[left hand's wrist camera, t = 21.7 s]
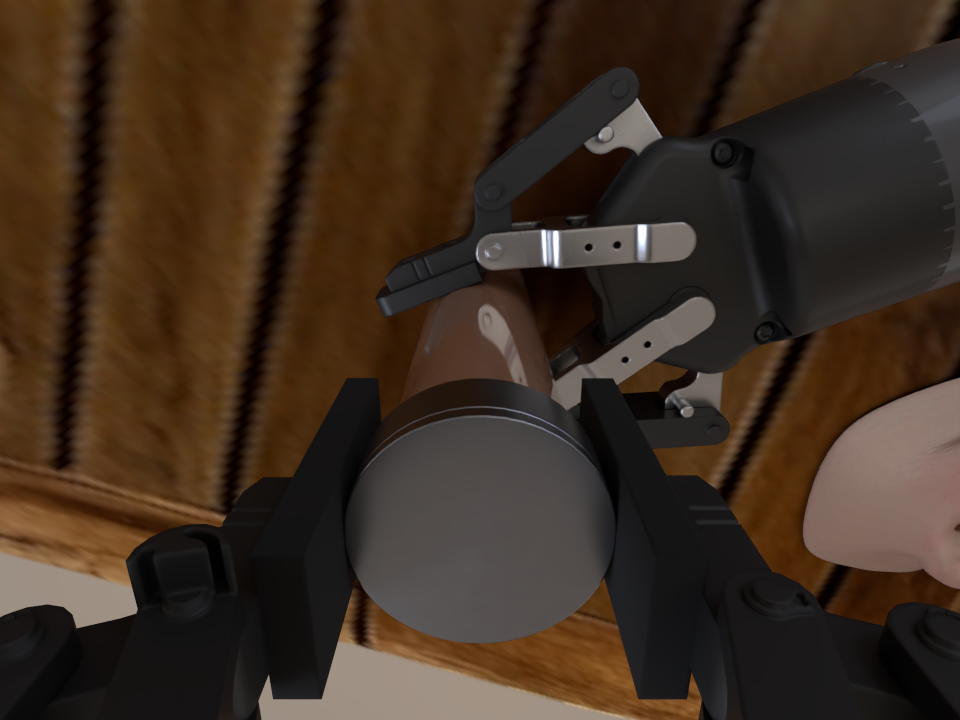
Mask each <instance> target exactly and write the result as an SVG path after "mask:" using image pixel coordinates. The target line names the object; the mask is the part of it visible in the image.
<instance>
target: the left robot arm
mask: <svg viewBox="0 0 960 720" xmlns="http://www.w3.org/2000/svg"><path fill="white" fill-rule="evenodd" d="M380 424H381V414H380V398H379V383H378V378H347V379H346V381H345V383H344V385H343V387H342V388H341V390H340V392H339V394H338V396H337V397H336V399H335V401H334V403H333V405H332V407H331V408H330V410H329V412H328V414H327V416H326V418H325V419H324V421H323V423H322V425H321V427H320V429H319V430H318V432H317V434H316V436H315V438H314V439H313V441H312V443H311V445H310V447H309V449H308V450H307V452H306V454H305V456H304V458H303V460H302V461H301V463H300V465H299V467H298V469H297V470H296V472H295V474H294V476H293V477H263V478H262V479H260V480H259V481H258V482H256V483H255V484H254V485H252V486H251V487H249V488H248V489H247V490H245V491H244V492H243V493H242V495H241V496H240V498H239V499H238V501H237V502H236V504H235V505H234V507H233V508H232V512H230V513H229V514H228V516H227V517H226V519H225V520H224V522H223V525H222V527H216V526H212V525H208V524H191V525H184V526H180V527H176V528H172V529H168V530H166V531H164V532H161V533H159V534H157V535H155V536H153V537H150V538H149V539H147V540H146V541H145V542H143V543H142V544H141V545H139V546H138V547H136V548H135V549H134V550H133V552H132V553H131V554H130V556H129V557H128V558H127V560H126V565H127V569H128V573H129V577H130V580H131V584H132V588H133V592H134V596H135V600H136V604H137V607H138V610H137V613H136V614H134V615H130V616H127V617H124V618H120V619H116V620H112V621H107V622H103V623H99V624H94V625H90V626H85V627H81V628H76V625H75V622H74V619H73V615H72V614H71V613H70V612H68V611H67V610H66V609H65V608H64V607H60V606H53V605H41V606H34V607H27V608H24V609H21V610H18V611H15V612H12V613H9V614H6V615H4V616H2V617H0V720H261V714H260V708H259V702H258V700H259V698H260V695H261V693H262V690H263V688H264V685H265V682H266V680H267V677H268V675H269V677H270V683H271V689H272V695H273V699H322V696H323V692H324V689H325V685H326V682H327V678H328V675H329V671H330V668H331V664H332V660H333V657H334V653H335V650H336V646H337V643H338V639H339V636H340V632H341V628H342V625H343V621H344V618H345V614H346V611H347V607H348V603H349V600H350V596H351V593H352V589H353V586H354V582H355V579H356V576H355V574H354V572H353V569H352V567H351V565H350V563H349V559H348V556H347V552H346V549H345V541H344V514H345V509H346V504H347V501H348V498H349V495H350V492H351V490H352V487H353V484H354V481H355V478H356V476H357V473H358V470H359V467H360V465H361V462H362V459H363V456H364V454H365V451H366V448H367V445H368V443H369V441H370V440H371V438H372V436H373V434H374V432H375V431H376V429H377V428H378V427H379V425H380ZM579 424H580V425H581V426H582V427H583V429H584V431H585V432H586V434H587V435H588V437H589V439H590V441H591V443H592V445H593V448H594V450H595V452H596V455H597V458H598V460H599V463H600V466H601V469H602V471H603V474H604V477H605V480H606V482H607V485H608V488H609V491H610V493H611V496H612V499H613V503H614V507H615V511H616V520H617V533H616V544H615V550H614V554H613V558H612V560H611V563H610V566H609V568H608V571H607V573H606V574H605V576H604V578H605V582H606V585H607V589H608V592H609V596H610V599H611V603H612V607H613V610H614V614H615V617H616V621H617V624H618V628H619V631H620V635H621V639H622V642H623V646H624V649H625V653H626V656H627V660H628V663H629V667H630V671H631V674H632V678H633V681H634V685H635V688H636V692H637V695H638V699H687V696H688V690H689V684H690V678H691V672H692V674H693V677H694V679H695V682H696V684H697V687H698V689H699V692H700V694H701V697H702V702H701V708H700V714H699V719H698V720H960V614H958V613H956V612H953V611H950V610H948V609H944V608H942V607H939V606H936V605H931V604H923V603H916V602H911V603H905V604H898V605H897V606H895V607H894V608H893V609H892V610H891V611H889V613H888V616H887V619H886V622H885V626H881V625H877V624H872V623H868V622H864V621H859V620H855V619H851V618H846V617H842V616H838V615H835V614H831V613H828V612H825V611H823V609H822V608H821V606H820V604H819V603H818V601H817V600H816V598H815V597H814V595H813V594H811V593H810V592H809V591H808V590H806V589H805V588H804V587H803V586H802V585H800V584H799V583H797V582H795V581H793V580H791V579H789V578H787V577H785V576H783V575H781V574H778V573H774V572H772V571H771V570H770V568H769V567H768V565H767V564H766V562H765V561H764V559H763V558H762V556H761V555H760V553H759V552H758V550H757V549H756V547H755V546H754V544H753V543H752V541H751V540H750V538H749V537H748V535H747V534H746V532H745V531H744V529H743V528H742V526H741V525H738V520H737V519H736V517H735V516H734V514H733V513H732V511H731V510H729V509H728V508H729V507H728V505H727V504H726V502H725V501H724V499H723V498H722V496H721V495H720V493H719V492H718V490H716V489H715V488H714V487H712V486H711V485H709V484H708V483H707V482H705V481H704V480H703V479H701V478H700V477H698V476H666V474H665V472H664V470H663V468H662V467H661V465H660V463H659V461H658V459H657V457H656V456H655V454H654V452H653V450H652V448H651V446H650V445H649V443H648V441H647V439H646V437H645V436H644V434H643V432H642V430H641V428H640V426H639V425H638V423H637V421H636V419H635V417H634V415H633V414H632V412H631V410H630V408H629V406H628V405H627V403H626V401H625V399H624V397H623V395H622V394H621V392H620V390H619V388H618V386H617V384H616V383H615V381H614V379H613V378H582V385H581V401H580V416H579Z"/></svg>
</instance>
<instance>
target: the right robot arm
mask: <svg viewBox="0 0 960 720" xmlns="http://www.w3.org/2000/svg"><path fill="white" fill-rule="evenodd" d="M638 94H639V81H638V78H637V76H636V75H635V73H634V72H633V71H632V70H630V69H628V68H625V67H616V68H613V69H611V70H609V71H607V72H605V73H603V74H601V75H599V76H597V77H595V78H594V79H593V80H591V81H590V82H589V83H588V84H587V85H585V86H584V87H583V88H582V89H581V90H579V91H578V92H577V93H576V94H575V95H573V96H572V97H571V98H570V99H569V100H567V101H566V102H565V103H564V104H563V105H561V106H560V107H559V108H558V109H557V110H555V111H554V112H553V113H552V114H551V115H549V116H548V117H547V118H546V119H544V120H543V121H542V122H541V123H540V124H538V125H537V126H536V127H535V128H534V129H532V130H531V131H530V132H529V133H528V134H526V135H525V136H524V137H523V138H522V139H520V140H519V141H518V142H517V143H516V144H514V145H513V146H512V147H511V148H510V149H508V150H507V151H506V152H505V153H504V154H502V155H501V156H500V157H499V158H497V159H496V160H495V161H494V162H493V163H491V164H490V165H489V166H488V167H487V168H485V169H484V170H483V171H482V172H481V173H480V174H479V175H478V176H477V178H476V181H475V189H474V195H475V222H474V224H473V226H472V228H471V229H470V231H469V232H468V233H466V234H465V235H463V236H461V237H459V238H456V239H454V240H451V241H449V242H446V243H443V244H441V245H438V246H436V247H433V248H431V249H428V250H426V251H423V252H421V253H418V254H416V255H413V256H410V257H408V258H405V259H403V260H401V261H400V262H399V263H398V264H397V265H396V266H395V267H394V268H392V269H391V271H390V272H389V274H388V275H387V277H386V278H385V280H386V282H387V284H388V285H386V286H384V287H383V288H382V289H381V290H380V292H379V293H378V295H377V296H376V298H375V299H376V301H377V303H378V305H379V307H380V309H381V312H382V314H383V316H384V317H388V316H392V315H394V314H397V313H400V312H402V311H405V310H408V309H410V308H413V307H416V306H418V305H421V304H423V303H426V302H429V301H431V300H434V299H437V298H439V297H442V296H445V295H447V294H450V293H452V292H454V291H457V290H459V289H463V288H466V287H468V286H471V285H473V284H476V283H479V282H481V281H483V277H482V273H483V272H486V271H488V270H506V269H519V268H531V267H551V268H573V267H579V268H580V270H581V272H582V273H583V274H584V276H585V277H586V279H587V280H588V282H589V283H590V285H591V287H592V303H593V310H594V313H595V316H596V319H595V320H593V321H592V322H590V323H589V324H588V325H586V326H585V327H583V328H582V329H580V330H579V331H578V332H577V333H576V334H575V335H574V336H573V338H572V340H571V341H570V342H569V343H568V344H567V345H565V346H564V347H563V348H561V349H560V350H558V351H557V352H556V353H554V354H553V355H551V356H550V357H548V360H549V363H550V367H551V370H552V373H553V376H554V380H555V383H556V386H557V390H558V393H559V396H560V399H561V403H562V406H563V407H564V408H565V409H566V410H567V411H568V412H569V413H570V414H572V415H573V416H574V418H575V419H576V420H577V421H578V422H579V416H580V401H581V385H582V378H613V379H614V381H615V383H616V384H617V385H618V384H619V383H621V382H622V381H623V380H625V379H626V378H628V377H629V376H631V375H632V374H634V373H635V372H637V371H638V370H640V369H641V368H643V367H644V366H646V365H647V364H649V363H650V362H652V361H656V362H660V363H664V364H668V365H672V366H676V367H680V368H684V369H688V371H687V372H686V373H685V374H684V375H683V376H682V377H680V378H678V379H674V380H670V381H667V382H665V383H664V384H663V385H662V387H661V388H660V390H659V391H658V392H642V393H626V394H622V395H623V397H624V399H625V401H626V403H627V405H628V406H629V408H630V410H631V412H632V414H633V415H634V417H635V419H636V421H637V423H638V425H639V426H640V428H641V430H642V432H643V434H644V436H645V437H646V439H647V441H648V443H649V445H650V446H651V448H652V449H657V448H673V447H689V446H706V445H716V444H719V443H721V442H723V441H724V440H725V439H726V438H727V436H728V435H729V432H730V425H729V423H728V421H727V420H726V419H725V418H724V416H723V415H722V413H721V412H720V402H721V389H722V377H723V372H724V371H726V370H728V369H730V368H731V367H733V366H734V365H735V364H736V363H737V362H739V361H740V360H741V359H742V358H743V357H744V356H745V355H746V354H747V353H749V352H750V351H751V350H753V349H755V348H756V347H758V346H761V345H763V344H767V343H771V342H776V341H781V340H787V339H792V338H795V337H799V336H802V335H805V334H808V333H811V332H814V331H817V330H820V329H822V328H825V327H828V326H831V325H834V324H837V323H840V322H843V321H846V320H849V319H852V318H855V317H857V316H860V315H863V314H866V313H869V312H872V311H875V310H878V309H881V308H884V307H886V306H889V305H892V304H895V303H898V302H901V301H904V300H907V299H910V298H913V297H915V296H918V295H921V294H924V293H927V292H930V291H933V290H936V289H939V288H942V287H945V286H947V285H950V284H953V283H956V282H959V281H960V38H958V39H954V40H951V41H947V42H943V43H940V44H936V45H934V46H931V47H928V48H925V49H922V50H919V51H916V52H913V53H911V54H908V55H905V56H903V57H900V58H898V59H895V60H893V61H886V62H882V63H881V62H879V63H875V64H873V65H870V66H868V67H866V68H864V69H862V70H860V71H858V72H856V73H854V74H853V75H852V76H851V77H850V78H847V79H845V80H842V81H840V82H837V83H834V84H832V85H829V86H827V87H824V88H822V89H819V90H817V91H814V92H812V93H809V94H807V95H804V96H801V97H799V98H796V99H794V100H791V101H789V102H786V103H784V104H781V105H779V106H776V107H774V108H771V109H769V110H766V111H763V112H761V113H758V114H756V115H753V116H751V117H748V118H746V119H743V120H741V121H738V122H736V123H733V124H731V125H728V126H725V127H723V128H720V129H718V130H715V131H713V132H710V133H708V134H705V135H702V136H698V137H694V138H683V137H677V136H661V135H660V133H659V132H658V130H657V129H656V127H655V125H654V124H653V122H652V121H651V119H650V118H649V116H648V114H647V113H646V111H645V110H644V108H643V107H642V105H641V104H640V102H639V100H638V99H637V96H638ZM580 146H582V147H583V148H584V149H585V150H586V151H588V152H590V153H595V154H605V153H608V152H610V151H612V150H613V149H615V148H619V147H622V148H625V149H626V150H628V151H629V152H630V154H631V155H630V157H629V158H628V160H627V161H626V162H625V164H624V165H623V167H622V168H621V170H620V171H619V173H618V174H617V175H616V177H615V178H614V180H613V181H612V183H611V184H610V185H609V187H608V188H607V190H606V191H605V193H604V194H603V196H602V197H601V198H600V200H599V201H598V203H597V204H596V206H595V207H594V208H593V210H592V211H591V213H589V214H577V215H565V216H553V217H545V218H541V219H537V220H527V221H515V222H512V201H513V200H515V199H516V198H517V197H518V196H519V195H521V194H522V193H523V192H524V191H526V190H527V189H528V188H529V187H531V186H532V185H533V184H534V183H536V182H537V181H538V180H539V179H541V178H542V177H543V176H544V175H546V174H547V173H548V172H549V171H551V170H552V169H553V168H554V167H556V166H557V165H558V164H559V163H561V162H562V161H563V160H564V159H565V158H567V157H568V156H569V155H570V154H572V153H573V152H574V151H575V150H577V149H578V148H579V147H580ZM623 357H624V358H623Z"/></svg>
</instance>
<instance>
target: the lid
mask: <svg viewBox="0 0 960 720" xmlns="http://www.w3.org/2000/svg"><path fill="white" fill-rule="evenodd" d="M616 533H617V520H616V511H615V507H614V503H613V499H612V496H611V493H610V491H609V488H608V485H607V482H606V480H605V477H604V474H603V471H602V469H601V466H600V463H599V460H598V458H597V455H596V452H595V450H594V448H593V445H592V443H591V441H590V439H589V437H588V435H587V434H586V432H585V431H584V429H583V427H582V426H581V425H580V424H579V422H578V421H577V420H576V419H575V418H574V416H573V415H572V414H570V413H569V412H568V411H567V410H566V409H565V408H564V407H563V406H562V405H560V404H559V403H557V402H556V401H554V400H553V399H551V398H550V397H549V396H547V395H545V394H543V393H541V392H539V391H537V390H535V389H532V388H530V387H527V386H524V385H521V384H518V383H514V382H509V381H505V380H499V379H488V378H474V379H462V380H456V381H450V382H446V383H443V384H439V385H436V386H433V387H431V388H428V389H426V390H424V391H421V392H419V393H417V394H416V395H414V396H412V397H411V398H409V399H407V400H406V401H404V402H403V403H402V404H400V405H399V406H398V407H396V408H395V409H394V410H393V411H392V412H391V413H390V414H389V415H388V416H387V417H386V418H385V419H384V420H383V421H382V423H381V424H380V425H379V427H378V428H377V429H376V431H375V432H374V434H373V436H372V438H371V440H370V441H369V443H368V445H367V448H366V451H365V454H364V456H363V459H362V462H361V465H360V467H359V470H358V473H357V476H356V478H355V481H354V484H353V487H352V490H351V492H350V495H349V498H348V501H347V504H346V509H345V514H344V541H345V549H346V552H347V556H348V559H349V563H350V565H351V567H352V569H353V572H354V574H355V576H356V578H357V579H358V581H359V582H360V584H361V586H362V587H363V589H364V590H365V591H366V592H367V594H368V595H369V596H370V597H371V598H372V599H373V601H374V602H375V603H377V604H378V605H379V606H380V607H381V608H382V609H383V610H384V611H385V612H387V613H388V614H390V615H391V616H392V617H394V618H395V619H397V620H398V621H400V622H402V623H403V624H405V625H407V626H409V627H411V628H413V629H415V630H418V631H420V632H422V633H425V634H427V635H431V636H434V637H438V638H441V639H446V640H451V641H456V642H466V643H495V642H503V641H510V640H514V639H519V638H523V637H526V636H529V635H532V634H535V633H538V632H541V631H543V630H545V629H547V628H549V627H551V626H554V625H555V624H557V623H559V622H560V621H562V620H563V619H565V618H567V617H568V616H570V615H571V614H572V613H573V612H575V611H576V610H577V609H578V608H580V607H581V606H582V605H583V604H584V603H585V602H586V601H587V600H588V599H589V598H590V597H591V595H592V594H593V593H594V591H595V590H596V589H597V588H598V586H599V585H600V583H601V582H602V580H603V578H604V576H605V574H606V573H607V571H608V568H609V566H610V563H611V560H612V558H613V554H614V550H615V544H616Z"/></svg>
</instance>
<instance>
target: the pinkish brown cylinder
mask: <svg viewBox="0 0 960 720" xmlns="http://www.w3.org/2000/svg"><path fill="white" fill-rule="evenodd" d="M482 277H483V281H481V282H479V283H476V284H473V285H471V286H468V287H466V288H463V289H459V290H457V291H454V292H452V293H450V294H447V295H445V296H442V297H439V298H437V299H434V300H431V301H430V302H429V305H428V309H427V312H426V315H425V318H424V322H423V325H422V328H421V332H420V335H419V338H418V341H417V345H416V348H415V351H414V355H413V358H412V361H411V364H410V368H409V371H408V374H407V378H406V381H405V384H404V387H403V391H402V394H401V397H400V401H399V404H398V406H399V405H400V404H402V403H403V402H404V401H406V400H407V399H409V398H411V397H412V396H414V395H416V394H417V393H419V392H421V391H424V390H426V389H428V388H431V387H433V386H436V385H439V384H443V383H446V382H450V381H456V380H462V379H474V378H488V379H499V380H505V381H509V382H514V383H518V384H521V385H524V386H527V387H530V388H532V389H535V390H537V391H539V392H541V393H543V394H545V395H547V396H549V397H550V398H551V399H553V400H554V401H556V402H557V403H559V404H560V405H562V403H561V399H560V396H559V393H558V390H557V386H556V383H555V380H554V376H553V373H552V370H551V367H550V363H549V360H548V357H547V353H546V350H545V347H544V344H543V340H542V337H541V334H540V330H539V327H538V324H537V321H536V317H535V314H534V311H533V307H532V304H531V301H530V298H529V294H528V291H527V288H526V284H525V281H524V278H523V275H522V273H521V271H520V269H506V270H488V271H486V272H483V273H482Z"/></svg>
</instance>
